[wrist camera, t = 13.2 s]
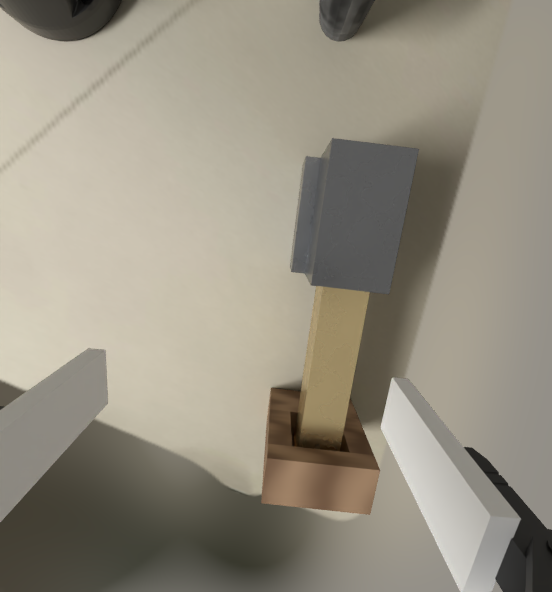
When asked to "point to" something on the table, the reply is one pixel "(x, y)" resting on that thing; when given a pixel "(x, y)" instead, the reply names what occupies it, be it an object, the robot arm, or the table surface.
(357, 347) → the rail
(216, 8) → the table surface
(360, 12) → the beverage cup
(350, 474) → the socket block
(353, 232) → the sleeve
